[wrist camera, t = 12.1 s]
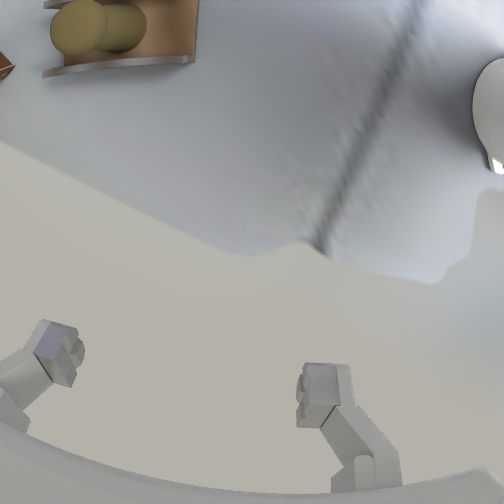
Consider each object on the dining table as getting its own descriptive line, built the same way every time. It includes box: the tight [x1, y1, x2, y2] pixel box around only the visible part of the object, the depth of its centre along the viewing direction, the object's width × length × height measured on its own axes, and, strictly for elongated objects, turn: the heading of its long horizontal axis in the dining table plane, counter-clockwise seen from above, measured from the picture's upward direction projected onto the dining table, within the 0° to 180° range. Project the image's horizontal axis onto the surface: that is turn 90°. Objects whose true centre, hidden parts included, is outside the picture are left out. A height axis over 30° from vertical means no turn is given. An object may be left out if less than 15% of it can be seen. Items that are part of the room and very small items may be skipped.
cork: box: [50, 0, 147, 55], centre depth 22 cm, size 6×6×11 cm
